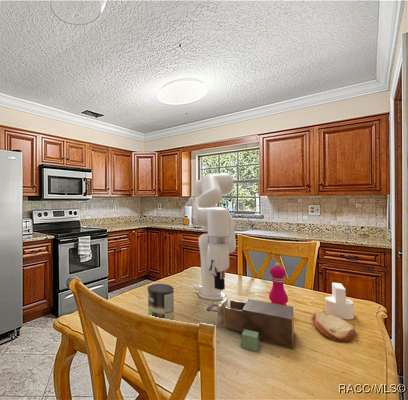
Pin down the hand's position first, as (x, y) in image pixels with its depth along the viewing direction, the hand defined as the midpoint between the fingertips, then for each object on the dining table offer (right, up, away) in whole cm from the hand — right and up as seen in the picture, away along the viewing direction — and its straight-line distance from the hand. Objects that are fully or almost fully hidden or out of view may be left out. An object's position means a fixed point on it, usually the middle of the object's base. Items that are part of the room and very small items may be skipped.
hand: (219, 288), depth 104 cm
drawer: (+6, -14, +1) cm, 15 cm away
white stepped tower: (+53, -14, +9) cm, 56 cm away
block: (+5, -15, -14) cm, 20 cm away
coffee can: (-21, -16, +5) cm, 27 cm away
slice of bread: (+40, -14, -2) cm, 43 cm away
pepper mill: (+33, -14, +17) cm, 40 cm away
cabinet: (+15, -15, -6) cm, 22 cm away
